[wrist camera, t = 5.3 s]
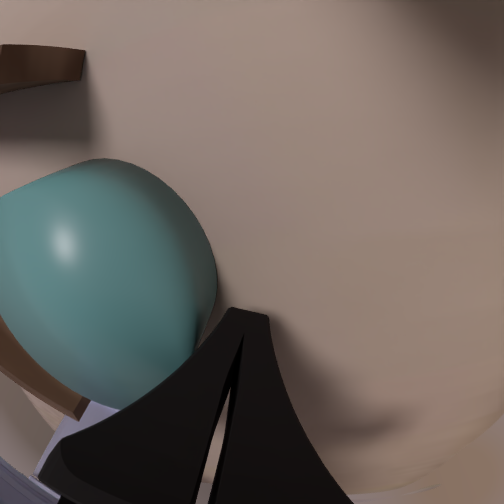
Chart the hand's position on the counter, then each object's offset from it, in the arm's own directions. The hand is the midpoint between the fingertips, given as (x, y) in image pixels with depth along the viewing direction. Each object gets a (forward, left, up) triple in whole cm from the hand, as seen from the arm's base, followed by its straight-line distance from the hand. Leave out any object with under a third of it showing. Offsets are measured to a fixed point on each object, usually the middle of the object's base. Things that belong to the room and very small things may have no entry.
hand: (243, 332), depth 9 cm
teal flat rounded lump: (0, +6, -2) cm, 6 cm away
